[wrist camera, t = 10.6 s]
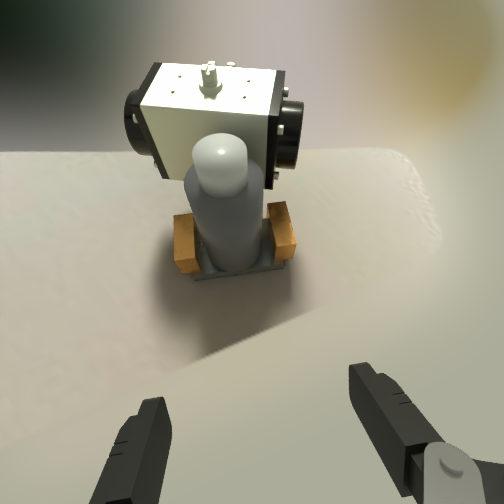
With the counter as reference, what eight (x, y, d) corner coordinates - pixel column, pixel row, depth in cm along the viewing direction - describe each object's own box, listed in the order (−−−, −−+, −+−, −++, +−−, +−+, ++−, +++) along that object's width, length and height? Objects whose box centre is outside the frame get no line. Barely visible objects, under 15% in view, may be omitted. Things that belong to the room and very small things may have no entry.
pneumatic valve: (285, 226, 24) (307, 98, 14) (163, 212, 25) (96, 83, 15) (289, 181, 27) (311, 44, 16) (179, 170, 28) (131, 34, 17)
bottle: (208, 275, 21) (174, 191, 12) (205, 227, 23) (174, 126, 14) (265, 267, 21) (271, 180, 12) (257, 221, 23) (257, 118, 15)
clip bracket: (185, 282, 22) (174, 264, 19) (184, 235, 24) (173, 212, 21) (291, 267, 22) (297, 247, 19) (281, 222, 24) (284, 198, 21)
